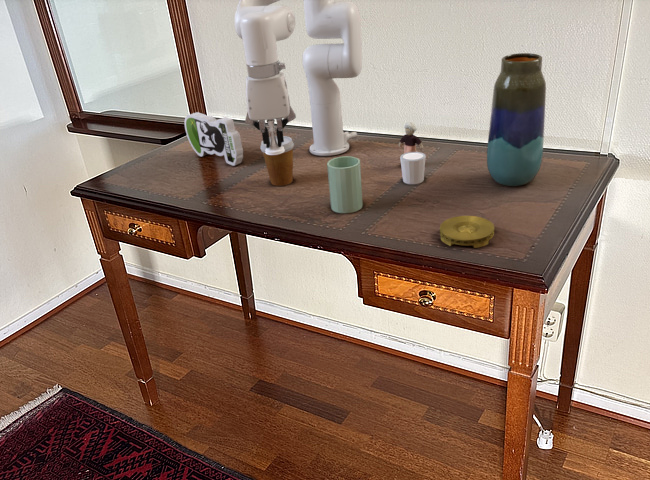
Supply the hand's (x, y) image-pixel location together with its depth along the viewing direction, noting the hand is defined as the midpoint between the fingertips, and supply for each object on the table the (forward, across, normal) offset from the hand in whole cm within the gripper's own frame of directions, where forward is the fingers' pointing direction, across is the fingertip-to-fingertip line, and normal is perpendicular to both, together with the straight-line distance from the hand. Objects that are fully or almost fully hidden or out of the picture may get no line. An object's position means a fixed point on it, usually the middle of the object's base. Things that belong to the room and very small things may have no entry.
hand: (274, 145), depth 158 cm
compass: (+17, -43, +25) cm, 53 cm away
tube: (+17, -17, +4) cm, 24 cm away
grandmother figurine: (+17, -36, -20) cm, 45 cm away
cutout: (+17, +23, -41) cm, 50 cm away
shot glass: (+17, -36, -10) cm, 41 cm away
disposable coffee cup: (+17, +1, -17) cm, 24 cm away
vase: (+17, -61, -4) cm, 64 cm away
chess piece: (+2, 0, 0) cm, 2 cm away
